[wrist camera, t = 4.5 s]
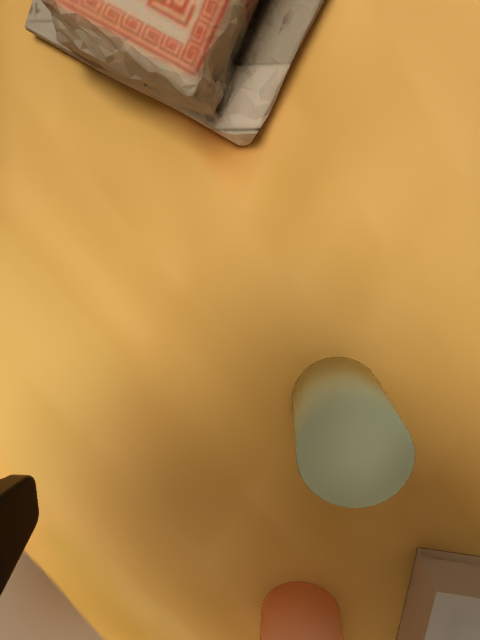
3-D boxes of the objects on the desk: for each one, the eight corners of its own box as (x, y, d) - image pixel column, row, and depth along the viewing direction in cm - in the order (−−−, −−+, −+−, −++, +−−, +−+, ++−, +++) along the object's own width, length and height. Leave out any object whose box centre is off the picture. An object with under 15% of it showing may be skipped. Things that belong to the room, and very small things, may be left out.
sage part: (389, 363, 20) (425, 411, 15) (373, 445, 21) (402, 515, 16) (298, 351, 20) (305, 395, 15) (286, 433, 21) (289, 499, 16)
